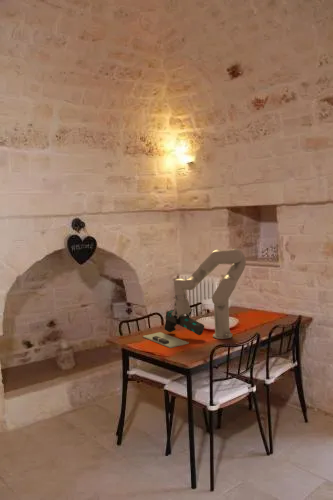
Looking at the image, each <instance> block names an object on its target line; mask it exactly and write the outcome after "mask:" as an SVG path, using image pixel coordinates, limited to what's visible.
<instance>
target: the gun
mask: <svg viewBox="0 0 333 500" xmlns="http://www.w3.org/2000/svg"><path fill="white" fill-rule="evenodd" d="M173 311H174V310H173V309H169V310H167V311H166V312H165V323H164V328H163V330H165V332H169V333H171V332H174V331H176V326H178V324H176V318H174V317H173V315H172V312H173ZM175 315H176V314H175ZM178 319H179V321H180V325H179V326H180V327H182V328H185V329H186V330H188V331H189V332H193V333H194V334H196V335H198V336H201V335H203V332H204V329H205V325H204V324H203V323H202V322H199V321H198V320H195V319H193V318H191V317H190V318H189V317H188V316H187V315H185V314H183V315H180V316H179V318H178Z"/></svg>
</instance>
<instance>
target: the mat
mask: <svg viewBox="0 0 333 500" xmlns="http://www.w3.org/2000/svg"><path fill="white" fill-rule="evenodd" d="M154 336H158V337H160V338H163V339H166V340H168V341H169V343H167V344H164V343H161V342H158V341H156V340H154V339H153V337H154ZM142 338H144V339H146V340H149V341H151V342H154V343H157V344H158V345H162V346H164V347H167V348H169V349H172V348H176V347H180V346H185V345H189V343H190V342H189V341H186V340H182V339H180V338H178V337H175V336H171V335H169V334H167V333H164V332H161V331H159V332H154V333H150V334H146V335H142Z"/></svg>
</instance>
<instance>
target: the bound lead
mask: <svg viewBox="0 0 333 500" xmlns="http://www.w3.org/2000/svg"><path fill="white" fill-rule="evenodd" d="M153 339H154V340H156V341H158V342H161V343H164V344H167V343H169V341H168V340H166V339H163V338H160V337H158V336H154V337H153Z"/></svg>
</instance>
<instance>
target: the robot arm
mask: <svg viewBox="0 0 333 500" xmlns="http://www.w3.org/2000/svg"><path fill="white" fill-rule="evenodd" d="M246 263H247V260H246V256H245V254H244V252H243V251H242V249H240V248H238V247H237V248H232V249H228V250H221V249H215V250H213V251H212V252H211V253H210V254H209V255H208V256H207V257H206V258H205V259H204V260H203V261H202V262H201V264H200V265H199V266H198V268H197V269H196V270H195V271H194V272H193V273H192V274H191V275H190V276H189V277H188V278H187V279H184V278H176V279H174V281H173V286H174V297H173V299H174V303H173V304H174V305H173V307H174V308H173V309H174V310H173V312H172V315H173V317H174V318H176V324H177V326H180V321H179V319H178V318H179V316H180V315H185V316H188V317H189V318H191V315H192V313H193V311H194V310H193V308H192V307H190V301H189V299H188V298H187V291H193V290H194V289H196V287H198V285H199V284H200V283H201V282H203V280H204V279H205V278H206V277H207V276H209V275H210V274H211V273H212V272H213V271H214V270H215V269H217V267H218V266H219V265H225V264H228V265H229V264H231V265H230V267H229V269H228V270H227V272H226V274H225V276H224V277H223V278H222V279H221V281H220V282H219V284H218V286H217V288H216V289H215V291H214V293H213V294H212V295H211V296H212V297H211V302H212V303H213V310H214V311H213V312H214V313H213V317H214V333H213V334H212V337H213V338H214V339H218V340H224V339H225V340H226V339H231V338H232V337H233V333H232V332H231V330H230V312H229V310H230V309H229V307H230V306H229V305H230V304H229V303H230V302H229V299H230V298H231V296H232V293H234V292H233V291H234V290H235V289H236V286H237V284H238V281H239V279H240V278H241V276H242V274H243V272H244V271H245V268H246ZM175 314H176V315H175Z"/></svg>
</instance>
